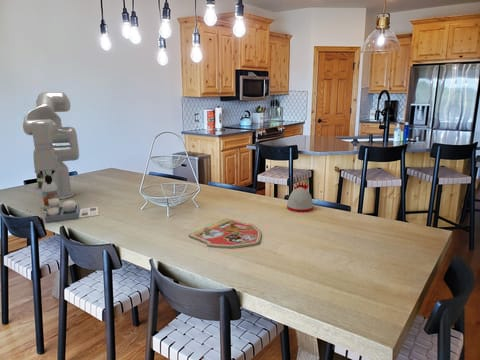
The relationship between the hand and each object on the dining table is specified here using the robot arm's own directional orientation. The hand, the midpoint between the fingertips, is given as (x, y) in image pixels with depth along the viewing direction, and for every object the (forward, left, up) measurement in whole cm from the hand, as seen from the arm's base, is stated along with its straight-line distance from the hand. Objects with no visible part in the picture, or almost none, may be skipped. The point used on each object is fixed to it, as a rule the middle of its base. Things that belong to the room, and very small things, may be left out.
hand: (49, 183), depth 176 cm
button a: (-7, 0, -15) cm, 17 cm away
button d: (0, +7, -15) cm, 17 cm away
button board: (-4, +4, -19) cm, 20 cm away
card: (-4, +16, -19) cm, 25 cm away
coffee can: (-71, -11, -19) cm, 74 cm away
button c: (0, 0, -18) cm, 18 cm away
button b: (-7, +7, -18) cm, 21 cm away
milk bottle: (-20, -3, -19) cm, 28 cm away
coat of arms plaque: (+56, +75, -20) cm, 96 cm away
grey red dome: (+36, +122, -19) cm, 129 cm away
